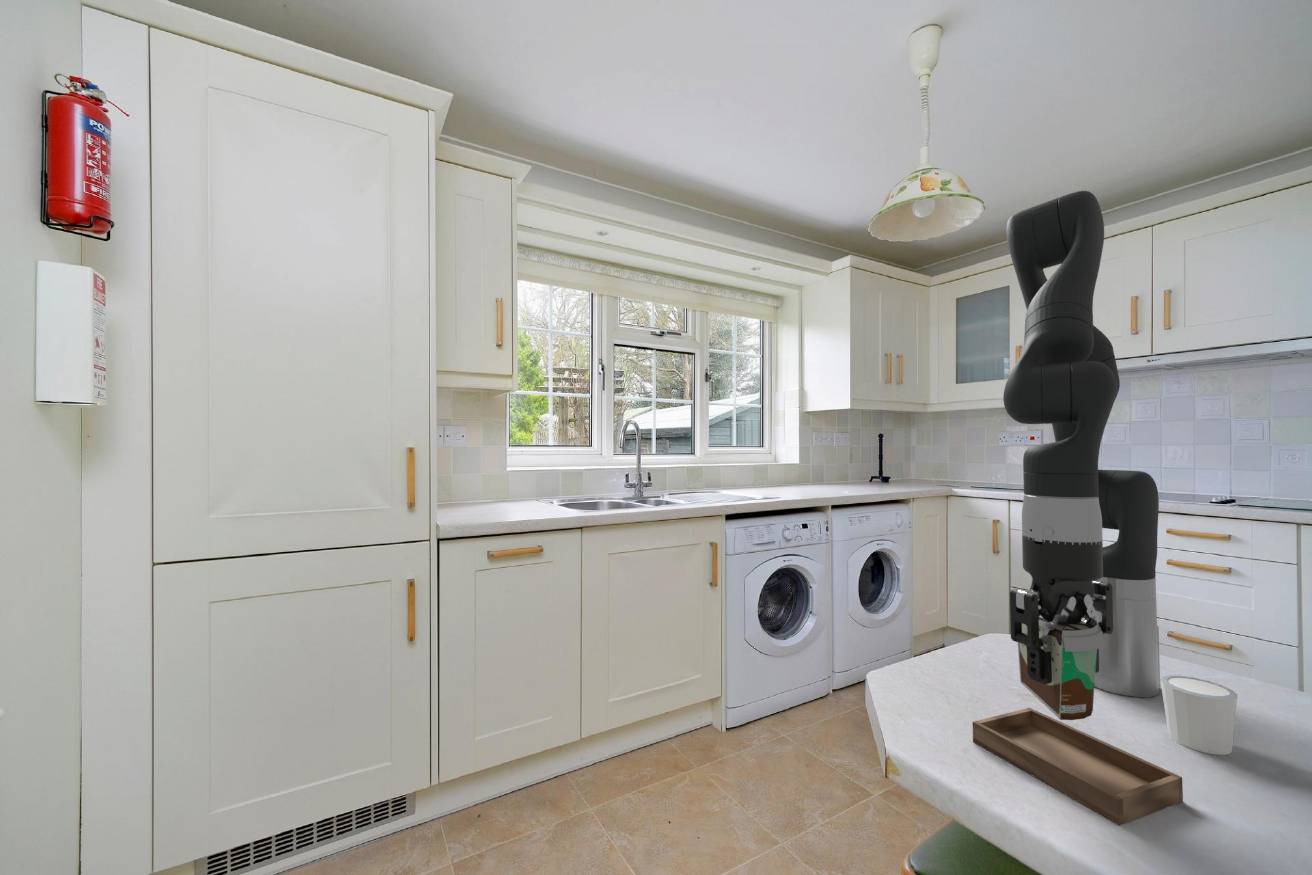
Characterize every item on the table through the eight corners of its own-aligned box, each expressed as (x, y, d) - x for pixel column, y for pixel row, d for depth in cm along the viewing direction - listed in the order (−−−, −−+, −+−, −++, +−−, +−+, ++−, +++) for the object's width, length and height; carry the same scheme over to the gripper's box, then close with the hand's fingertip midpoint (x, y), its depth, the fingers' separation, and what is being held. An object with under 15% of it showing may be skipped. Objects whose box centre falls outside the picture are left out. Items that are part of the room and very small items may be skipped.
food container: (1134, 731, 56) (1131, 635, 56) (1067, 726, 57) (1065, 632, 58) (1069, 680, 68) (1066, 601, 69) (1015, 677, 70) (1012, 599, 70)
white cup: (1226, 763, 63) (1224, 703, 63) (1151, 736, 69) (1150, 681, 69) (1249, 748, 66) (1247, 690, 66) (1175, 723, 72) (1174, 670, 73)
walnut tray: (1029, 726, 72) (1029, 707, 72) (1182, 801, 57) (1182, 777, 57) (972, 741, 68) (972, 721, 68) (1119, 825, 53) (1118, 799, 53)
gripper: (1069, 526, 69) (1071, 656, 69) (986, 533, 64) (988, 672, 64) (1138, 535, 62) (1141, 679, 62) (1050, 543, 57) (1054, 700, 57)
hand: (1063, 675), depth 63 cm, fingers closed on food container, 7 cm apart
